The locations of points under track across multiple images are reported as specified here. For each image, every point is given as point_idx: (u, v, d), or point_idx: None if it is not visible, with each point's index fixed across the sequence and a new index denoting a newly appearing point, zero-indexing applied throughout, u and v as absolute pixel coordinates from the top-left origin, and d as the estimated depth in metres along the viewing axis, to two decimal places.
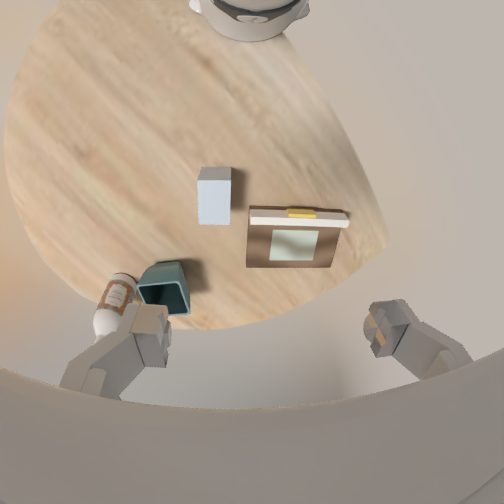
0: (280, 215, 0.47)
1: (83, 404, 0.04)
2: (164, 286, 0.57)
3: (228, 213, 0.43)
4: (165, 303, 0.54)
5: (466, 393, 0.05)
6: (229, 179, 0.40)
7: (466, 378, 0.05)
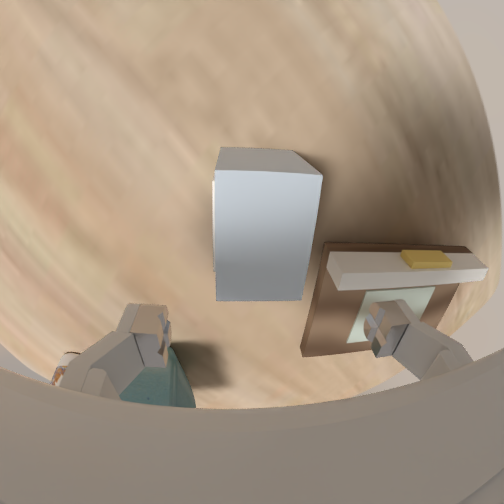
0: (397, 267, 0.19)
1: (83, 404, 0.04)
2: None
3: (302, 272, 0.15)
4: None
5: (466, 393, 0.05)
6: (315, 172, 0.13)
7: (466, 378, 0.05)
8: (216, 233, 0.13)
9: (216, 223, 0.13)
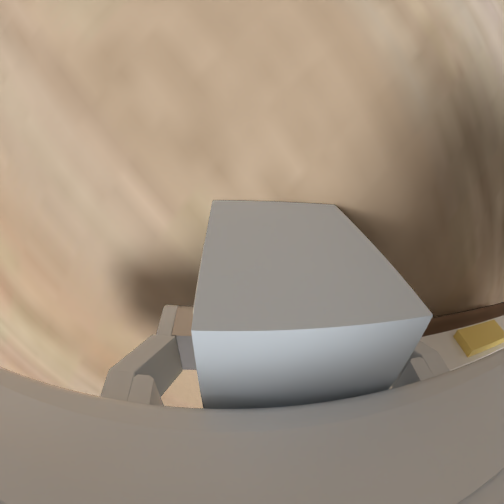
0: (453, 358, 0.12)
1: (83, 404, 0.04)
2: None
3: None
4: None
5: (466, 393, 0.05)
6: (416, 303, 0.05)
7: (466, 378, 0.05)
8: None
9: (206, 405, 0.06)
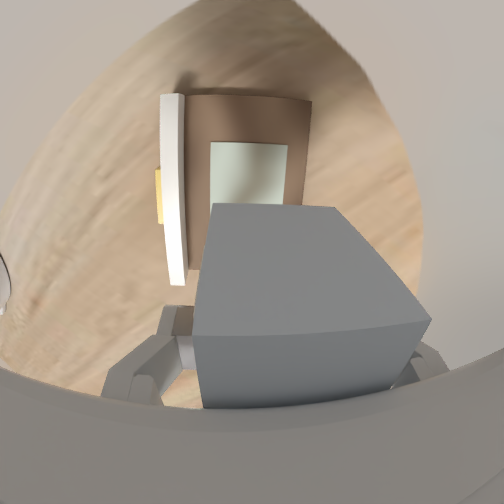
0: None
1: (83, 404, 0.04)
2: None
3: None
4: None
5: (466, 393, 0.05)
6: (415, 307, 0.05)
7: (466, 378, 0.05)
8: None
9: (206, 408, 0.06)
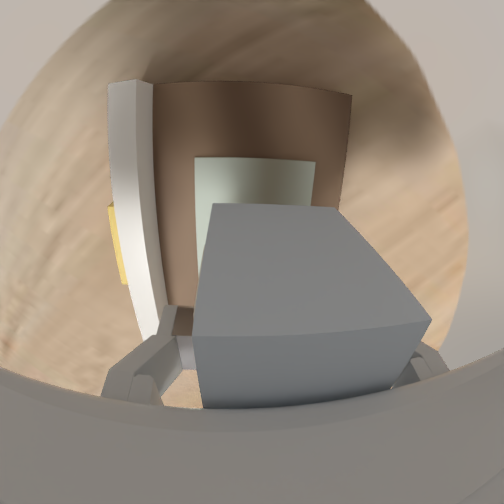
0: None
1: (83, 404, 0.04)
2: None
3: None
4: None
5: (466, 393, 0.05)
6: (415, 307, 0.05)
7: (466, 378, 0.05)
8: None
9: (206, 408, 0.06)
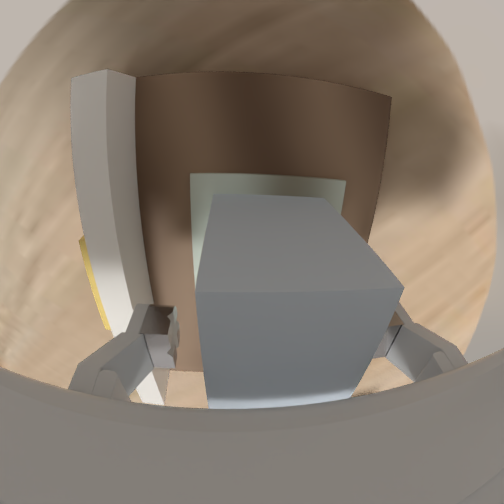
0: None
1: (83, 404, 0.04)
2: None
3: None
4: None
5: (466, 393, 0.05)
6: (389, 277, 0.06)
7: (466, 378, 0.05)
8: (207, 379, 0.07)
9: (206, 368, 0.07)
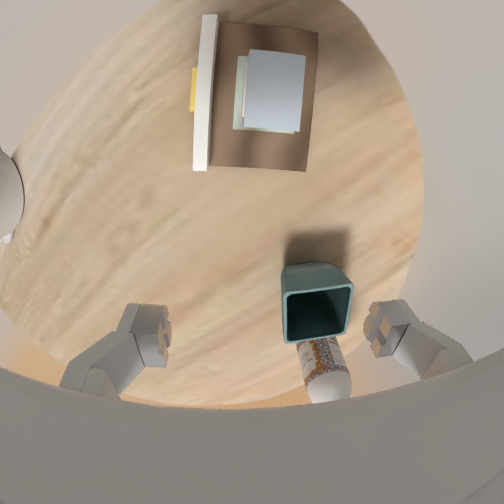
0: None
1: (83, 404, 0.04)
2: (323, 291, 0.41)
3: (298, 110, 0.22)
4: (338, 304, 0.36)
5: (466, 393, 0.05)
6: None
7: (466, 378, 0.05)
8: (248, 81, 0.20)
9: (248, 75, 0.20)
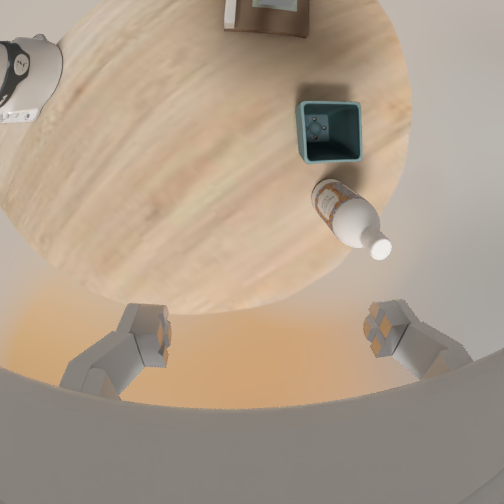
0: None
1: (83, 404, 0.04)
2: (334, 140, 0.41)
3: None
4: (350, 138, 0.37)
5: (466, 393, 0.05)
6: None
7: (466, 378, 0.05)
8: None
9: None
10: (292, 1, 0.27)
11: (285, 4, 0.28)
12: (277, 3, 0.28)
